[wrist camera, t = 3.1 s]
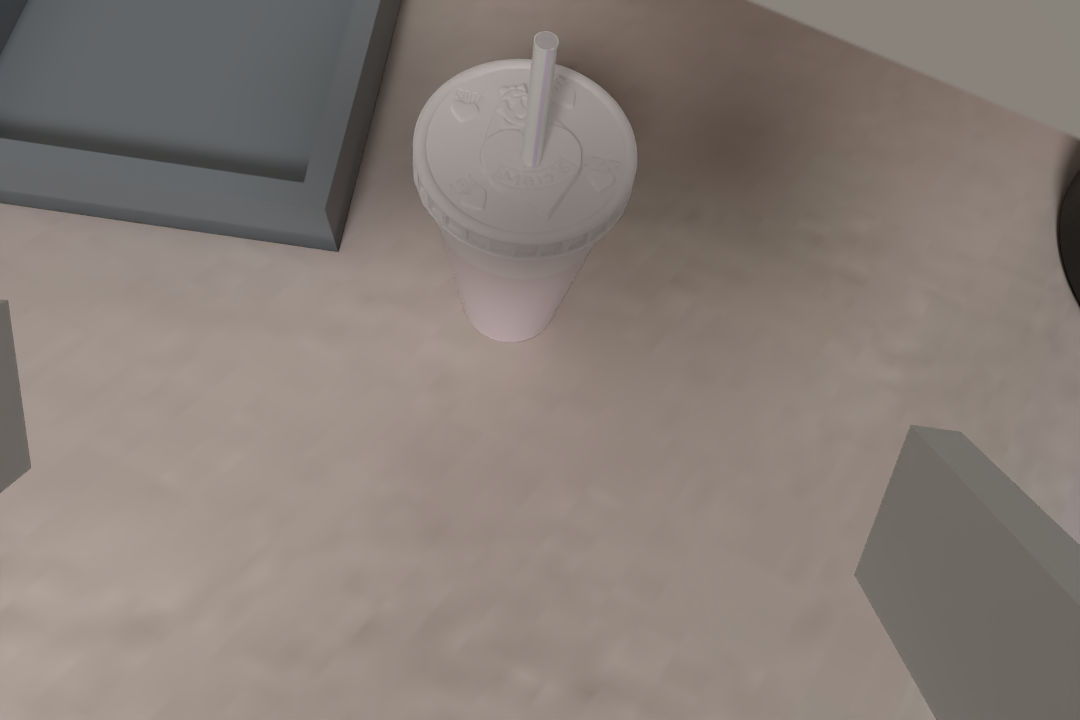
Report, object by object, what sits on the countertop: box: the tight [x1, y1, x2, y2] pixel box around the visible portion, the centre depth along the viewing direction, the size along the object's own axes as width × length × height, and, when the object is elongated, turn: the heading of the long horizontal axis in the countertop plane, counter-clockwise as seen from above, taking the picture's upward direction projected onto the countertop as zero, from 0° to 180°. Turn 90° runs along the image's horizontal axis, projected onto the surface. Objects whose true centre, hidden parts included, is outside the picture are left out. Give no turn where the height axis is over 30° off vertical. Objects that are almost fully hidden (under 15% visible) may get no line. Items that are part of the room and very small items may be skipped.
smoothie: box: [413, 31, 638, 342], centre depth 23 cm, size 6×6×14 cm
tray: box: [0, 0, 401, 252], centre depth 31 cm, size 16×16×3 cm
